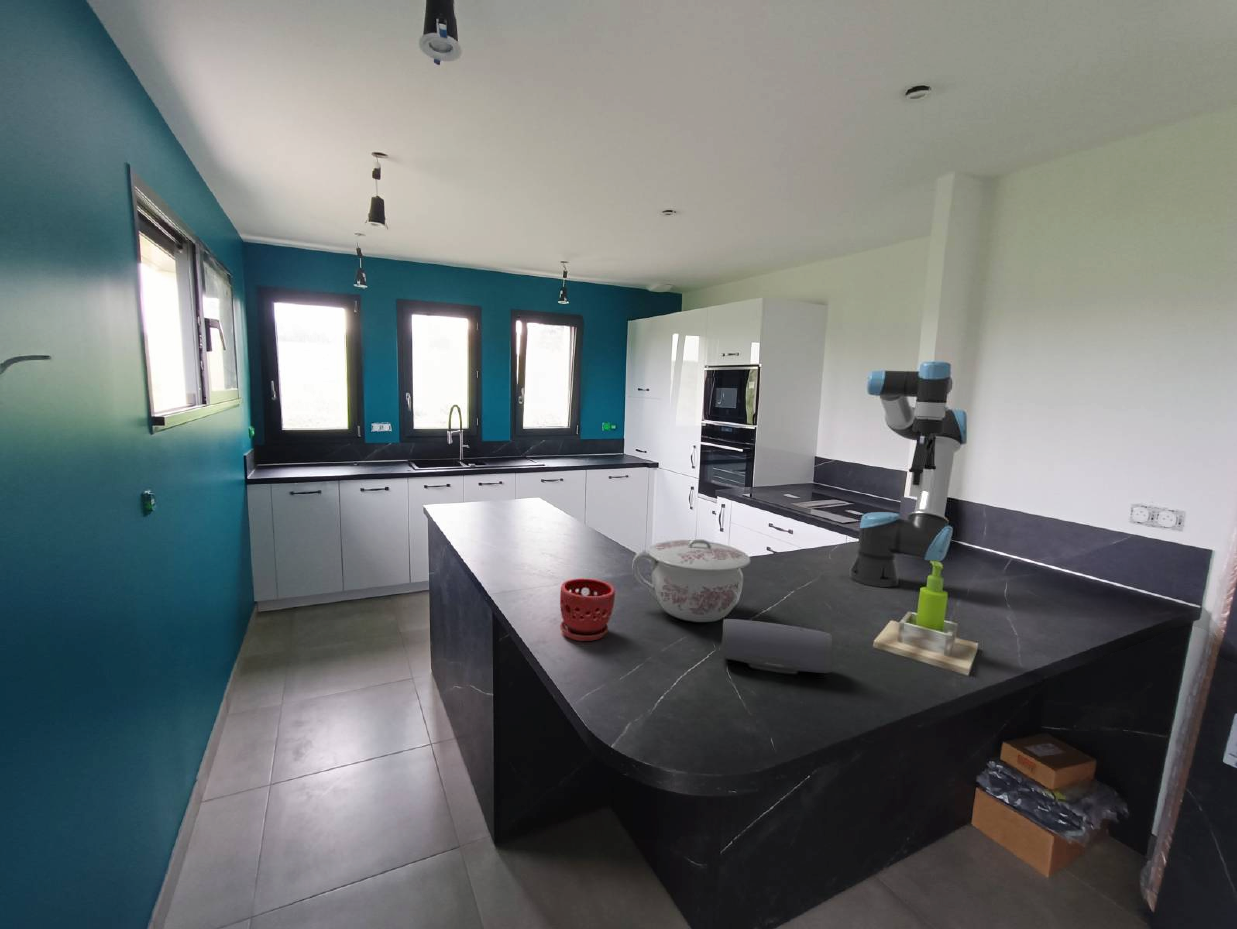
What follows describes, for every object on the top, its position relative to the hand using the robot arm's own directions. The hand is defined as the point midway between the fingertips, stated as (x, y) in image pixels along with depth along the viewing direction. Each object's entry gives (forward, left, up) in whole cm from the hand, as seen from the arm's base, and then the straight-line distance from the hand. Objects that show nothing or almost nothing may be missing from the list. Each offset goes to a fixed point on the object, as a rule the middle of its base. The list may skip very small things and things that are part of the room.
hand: (919, 494), depth 156 cm
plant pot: (-56, -76, -35) cm, 101 cm away
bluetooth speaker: (-15, -60, -35) cm, 71 cm away
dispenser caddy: (+9, -23, -35) cm, 43 cm away
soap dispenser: (+9, -22, -33) cm, 41 cm away
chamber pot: (-44, -45, -35) cm, 72 cm away
